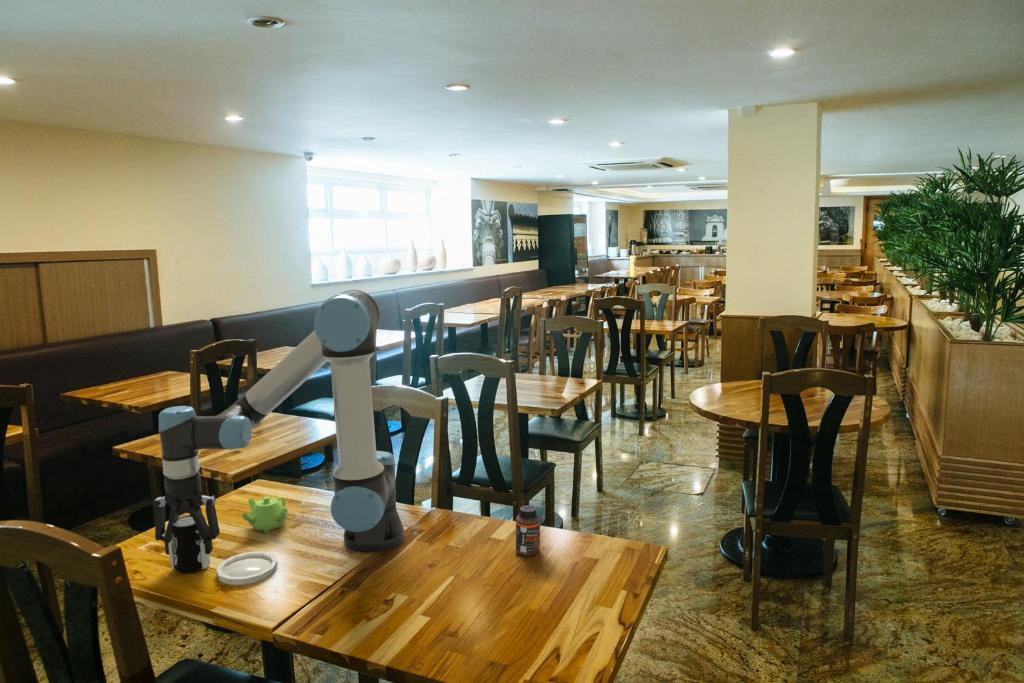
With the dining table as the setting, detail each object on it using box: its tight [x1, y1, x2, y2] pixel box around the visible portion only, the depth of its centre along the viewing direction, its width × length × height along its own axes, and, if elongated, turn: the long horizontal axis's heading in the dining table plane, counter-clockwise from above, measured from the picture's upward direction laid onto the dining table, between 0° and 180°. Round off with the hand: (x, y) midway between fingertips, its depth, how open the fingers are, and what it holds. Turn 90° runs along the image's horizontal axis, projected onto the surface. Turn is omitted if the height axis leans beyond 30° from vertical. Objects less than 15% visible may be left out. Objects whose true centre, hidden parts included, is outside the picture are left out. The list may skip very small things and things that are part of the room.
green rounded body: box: [241, 496, 289, 534], centre depth 184 cm, size 11×12×8 cm
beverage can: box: [171, 515, 203, 575], centre depth 163 cm, size 7×7×12 cm
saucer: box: [216, 551, 279, 587], centre depth 162 cm, size 13×13×2 cm
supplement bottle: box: [515, 504, 541, 557], centre depth 170 cm, size 6×6×11 cm
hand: (190, 566), depth 164 cm, fingers closed on beverage can, 7 cm apart
